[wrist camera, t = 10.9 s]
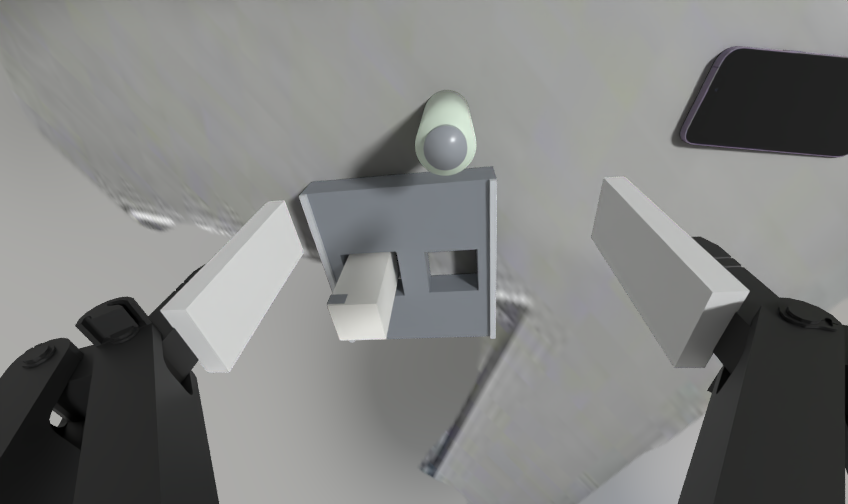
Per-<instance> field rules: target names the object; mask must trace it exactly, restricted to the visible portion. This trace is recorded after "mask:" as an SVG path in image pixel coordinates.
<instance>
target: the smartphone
mask: <svg viewBox="0 0 848 504" xmlns="http://www.w3.org/2000/svg"><path fill="white" fill-rule="evenodd" d="M766 50H767V51H766ZM777 51H778V52H777ZM787 52H788V53H787ZM798 53H799V54H798ZM808 54H809V55H808ZM829 56H830V57H829ZM680 138H681V139H682V140H683V141H685V142H687V143H689V144H693V145H703V146H714V147H726V148H737V149H748V150H759V151H770V152H781V153H793V154H804V155H815V156H826V157H843V156H845V155H848V57H846V56H836V55H825V54H815V53H805V52H801V51H790V50H773V49H763V48H752V47H741V46H735V47H730V48H728V49H726V50H725V51H723V52H722V53H721V54H720V55H719V56H718V57H717V59H716V60H715V62H714V64H713V66H712V68H711V70H710V72H709V74H708V76H707V78H706V80H705V82H704V84H703V86H702V88H701V90H700V92H699V94H698V96H697V98H696V100H695V102H694V104H693V106H692V108H691V110H690V112H689V114H688V116H687V118H686V120H685V122H684V124H683V126H682V128H681V131H680Z"/></svg>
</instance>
